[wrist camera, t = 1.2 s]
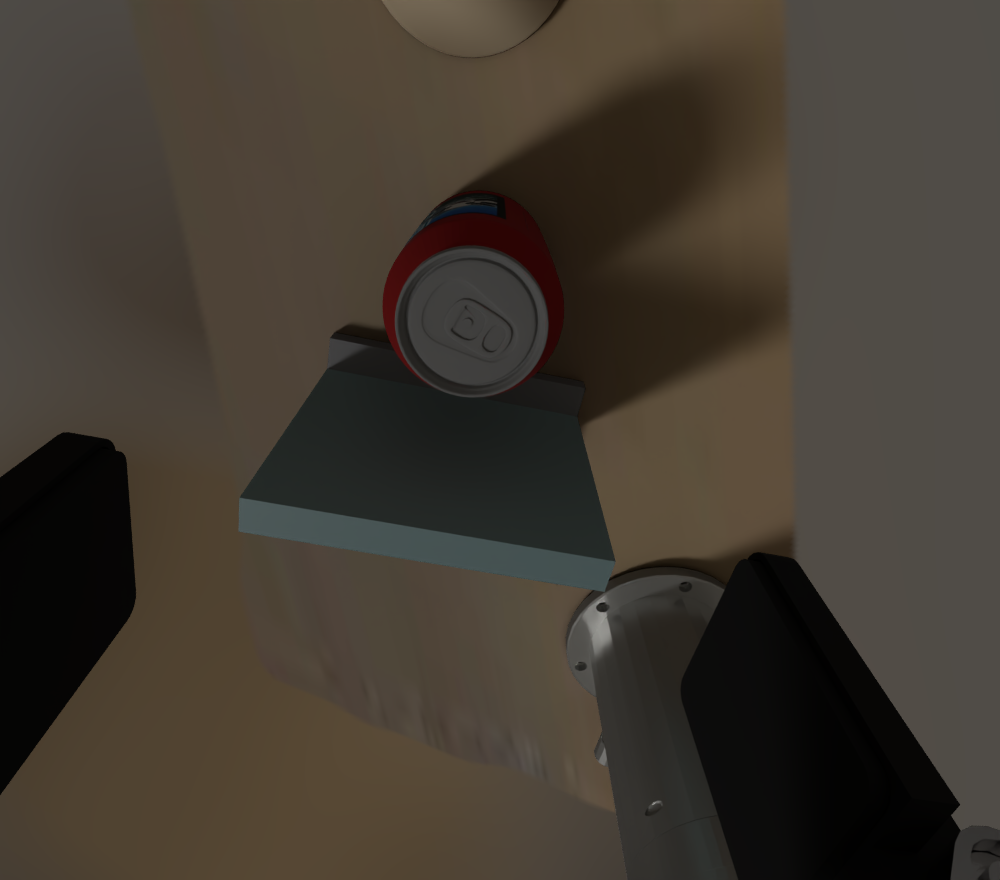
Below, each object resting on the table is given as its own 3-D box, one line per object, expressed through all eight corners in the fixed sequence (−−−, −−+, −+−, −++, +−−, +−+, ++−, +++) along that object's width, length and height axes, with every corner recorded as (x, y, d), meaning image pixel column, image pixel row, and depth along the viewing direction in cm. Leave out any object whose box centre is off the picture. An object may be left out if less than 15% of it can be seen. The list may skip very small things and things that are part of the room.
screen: (561, 457, 38) (592, 624, 25) (326, 414, 36) (237, 568, 24) (583, 381, 36) (629, 524, 23) (334, 332, 34) (240, 455, 22)
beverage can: (457, 159, 30) (435, 181, 20) (571, 237, 32) (609, 297, 21) (391, 278, 33) (340, 355, 22) (500, 345, 35) (501, 446, 24)
